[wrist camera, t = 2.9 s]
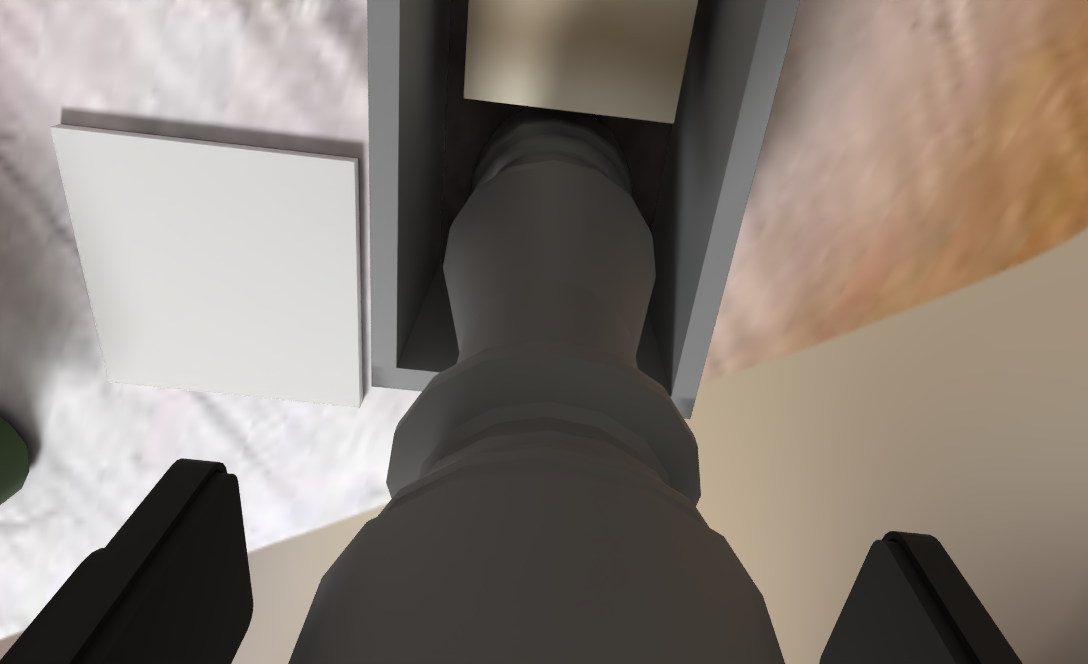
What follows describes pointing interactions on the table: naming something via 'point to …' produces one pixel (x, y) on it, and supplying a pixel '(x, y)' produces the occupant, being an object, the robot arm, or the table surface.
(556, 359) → the candle holder
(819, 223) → the table surface
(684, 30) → the upper offcut
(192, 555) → the robot arm
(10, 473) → the character mug
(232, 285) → the mat
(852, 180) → the table surface
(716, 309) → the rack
